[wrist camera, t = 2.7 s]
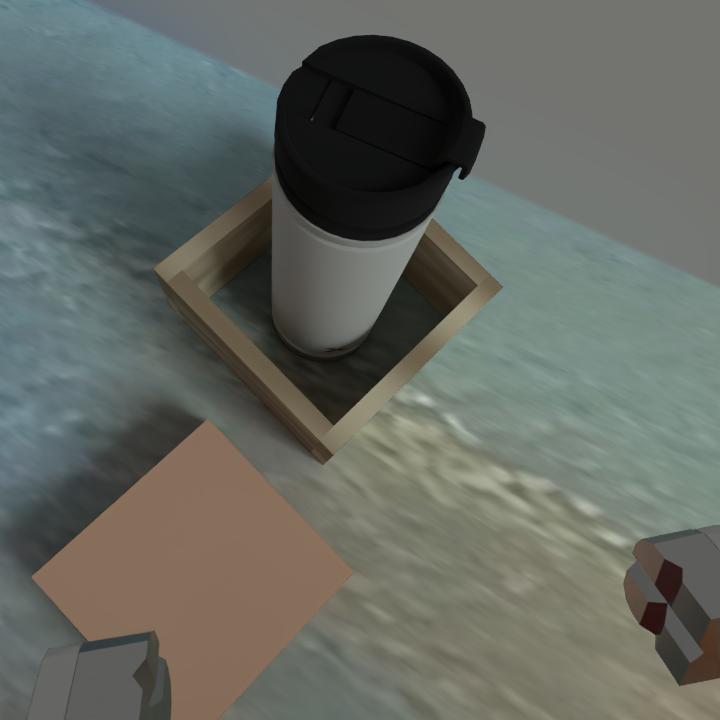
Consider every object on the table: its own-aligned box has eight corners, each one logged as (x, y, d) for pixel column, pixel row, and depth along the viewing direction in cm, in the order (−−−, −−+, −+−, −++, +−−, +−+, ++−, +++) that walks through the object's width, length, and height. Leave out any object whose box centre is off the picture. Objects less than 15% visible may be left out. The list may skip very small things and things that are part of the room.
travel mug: (354, 381, 36) (448, 232, 17) (254, 337, 36) (236, 137, 17) (392, 293, 38) (514, 70, 19) (296, 251, 38) (323, -18, 19)
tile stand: (195, 730, 31) (187, 752, 28) (52, 571, 32) (31, 577, 29) (347, 567, 34) (354, 572, 31) (213, 426, 35) (208, 418, 32)
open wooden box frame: (323, 465, 35) (333, 454, 29) (171, 307, 36) (153, 268, 30) (468, 321, 39) (503, 286, 33) (326, 181, 40) (336, 124, 34)
